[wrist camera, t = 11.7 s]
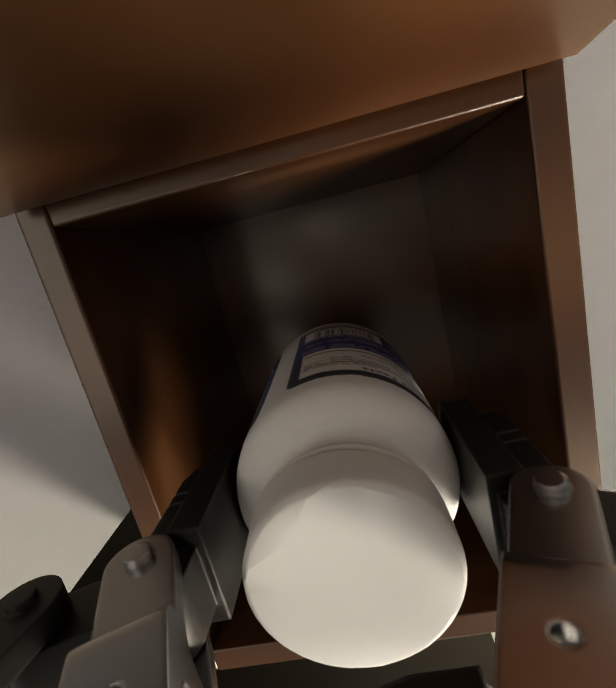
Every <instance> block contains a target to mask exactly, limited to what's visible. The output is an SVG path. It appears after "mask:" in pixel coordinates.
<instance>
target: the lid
mask: <svg viewBox="0 0 616 688" xmlns="http://www.w3.org/2000/svg"><path fill="white" fill-rule="evenodd" d="M615 19H616V0H0V218H1V217H4V216H8V215H11V214H15V213H18V212H22V211H25V210H29V209H32V208H36V207H39V206H43V205H46V204H50V203H54V202H57V201H61V200H64V199H68V198H71V197H75V196H78V195H82V194H85V193H89V192H92V191H96V190H99V189H103V188H106V187H110V186H113V185H117V184H121V183H124V182H128V181H131V180H135V179H138V178H142V177H145V176H149V175H152V174H156V173H159V172H163V171H166V170H170V169H173V168H177V167H181V166H184V165H188V164H191V163H195V162H198V161H202V160H205V159H209V158H212V157H216V156H219V155H223V154H226V153H230V152H233V151H237V150H241V149H244V148H248V147H251V146H255V145H258V144H262V143H265V142H269V141H272V140H276V139H279V138H283V137H286V136H290V135H293V134H297V133H301V132H304V131H308V130H311V129H315V128H318V127H322V126H325V125H329V124H332V123H336V122H339V121H343V120H346V119H350V118H353V117H357V116H361V115H364V114H368V113H371V112H375V111H378V110H382V109H385V108H389V107H392V106H396V105H399V104H403V103H406V102H410V101H413V100H417V99H421V98H424V97H428V96H431V95H435V94H438V93H442V92H445V91H449V90H452V89H456V88H459V87H463V86H466V85H470V84H473V83H477V82H481V81H484V80H488V79H491V78H495V77H498V76H502V75H505V74H509V73H512V72H516V71H519V70H523V69H526V68H530V67H533V66H537V65H541V64H544V63H548V62H551V61H555V60H558V59H562V58H565V57H569V56H572V55H576V54H577V53H579V52H580V51H581V50H582V49H583V48H584V47H585V46H586V45H587V44H589V43H590V42H591V41H592V40H593V39H594V38H595V37H596V36H597V35H598V34H599V33H600V32H602V31H603V30H604V29H605V28H606V27H607V26H608V25H609V24H610V23H611V22H612V21H614V20H615Z"/></svg>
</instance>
